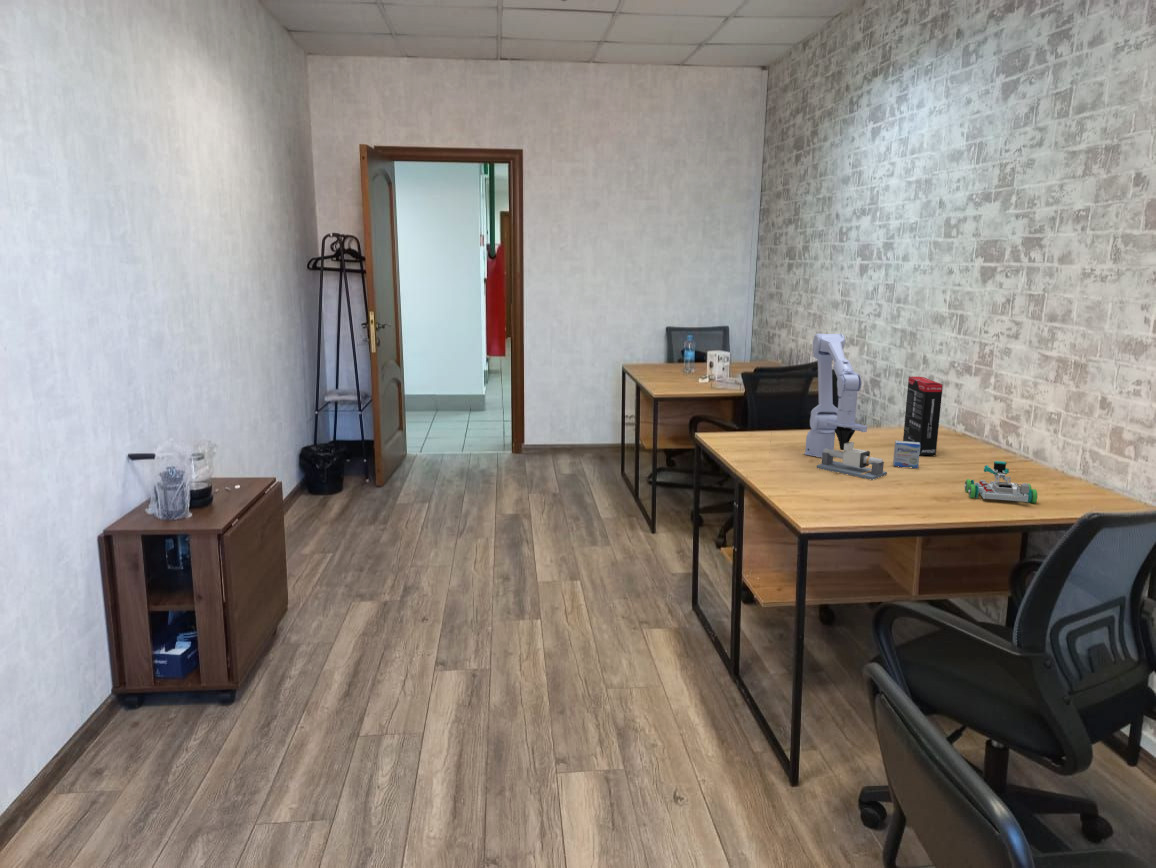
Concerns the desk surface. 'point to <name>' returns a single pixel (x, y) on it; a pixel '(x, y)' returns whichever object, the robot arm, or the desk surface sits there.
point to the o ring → (863, 458)
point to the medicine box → (906, 454)
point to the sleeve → (852, 455)
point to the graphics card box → (923, 413)
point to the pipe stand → (851, 470)
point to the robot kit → (1001, 486)
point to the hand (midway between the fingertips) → (843, 449)
